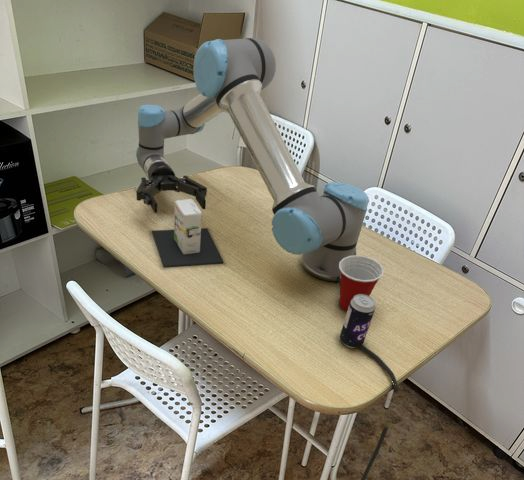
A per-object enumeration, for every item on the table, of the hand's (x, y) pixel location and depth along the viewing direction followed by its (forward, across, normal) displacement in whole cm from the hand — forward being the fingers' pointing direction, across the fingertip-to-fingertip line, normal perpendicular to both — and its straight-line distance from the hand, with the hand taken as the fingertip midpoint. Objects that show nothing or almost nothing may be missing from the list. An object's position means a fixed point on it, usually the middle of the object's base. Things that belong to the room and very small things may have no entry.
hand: (180, 206), depth 141 cm
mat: (+7, 0, -9) cm, 11 cm away
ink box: (+7, 0, -8) cm, 11 cm away
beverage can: (+54, -25, -9) cm, 60 cm away
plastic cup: (+42, -32, -9) cm, 53 cm away
